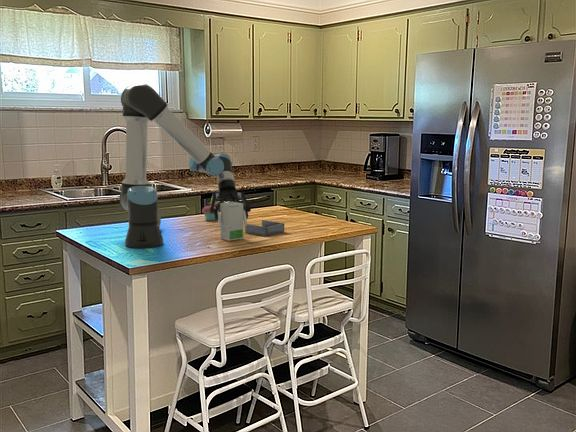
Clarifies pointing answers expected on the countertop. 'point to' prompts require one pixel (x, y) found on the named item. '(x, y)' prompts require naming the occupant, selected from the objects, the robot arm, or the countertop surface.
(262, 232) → the tray
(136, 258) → the countertop surface
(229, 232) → the skincare box
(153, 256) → the countertop surface
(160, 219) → the garlic bulb
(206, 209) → the cupcake
